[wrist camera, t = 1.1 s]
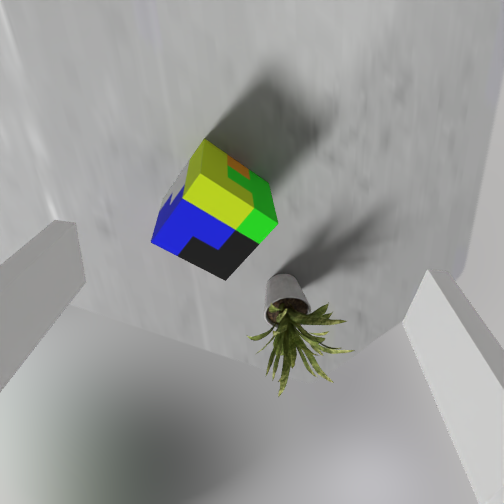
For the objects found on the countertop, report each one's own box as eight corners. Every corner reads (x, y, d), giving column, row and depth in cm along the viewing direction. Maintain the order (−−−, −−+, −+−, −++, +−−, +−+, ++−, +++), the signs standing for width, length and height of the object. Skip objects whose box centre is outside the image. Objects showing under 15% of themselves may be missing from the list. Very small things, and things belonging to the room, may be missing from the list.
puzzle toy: (162, 198, 46) (150, 242, 38) (204, 138, 42) (200, 173, 34) (224, 234, 50) (225, 280, 42) (268, 182, 46) (278, 223, 38)
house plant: (313, 322, 63) (336, 409, 50) (237, 318, 61) (241, 408, 48) (336, 260, 55) (371, 345, 42) (248, 253, 53) (257, 340, 40)
